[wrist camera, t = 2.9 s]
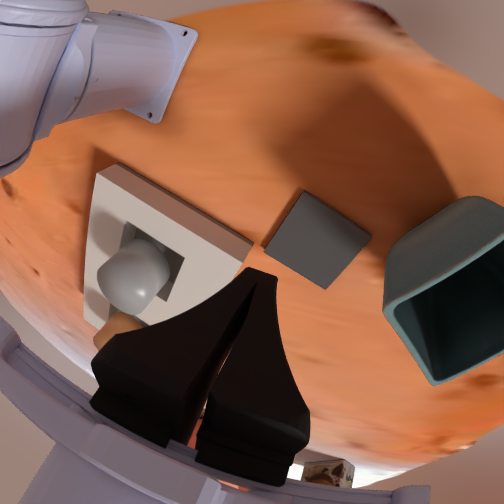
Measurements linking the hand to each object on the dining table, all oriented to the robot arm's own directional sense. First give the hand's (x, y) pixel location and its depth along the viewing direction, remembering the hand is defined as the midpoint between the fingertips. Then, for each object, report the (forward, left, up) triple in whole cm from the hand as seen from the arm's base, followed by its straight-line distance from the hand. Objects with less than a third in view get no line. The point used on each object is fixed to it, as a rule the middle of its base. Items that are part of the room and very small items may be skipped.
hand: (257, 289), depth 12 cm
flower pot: (+11, +4, -10) cm, 16 cm away
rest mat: (+3, -2, -10) cm, 11 cm away
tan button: (-8, -21, -7) cm, 24 cm away
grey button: (-8, -10, -7) cm, 15 cm away
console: (-8, -16, -10) cm, 20 cm away
